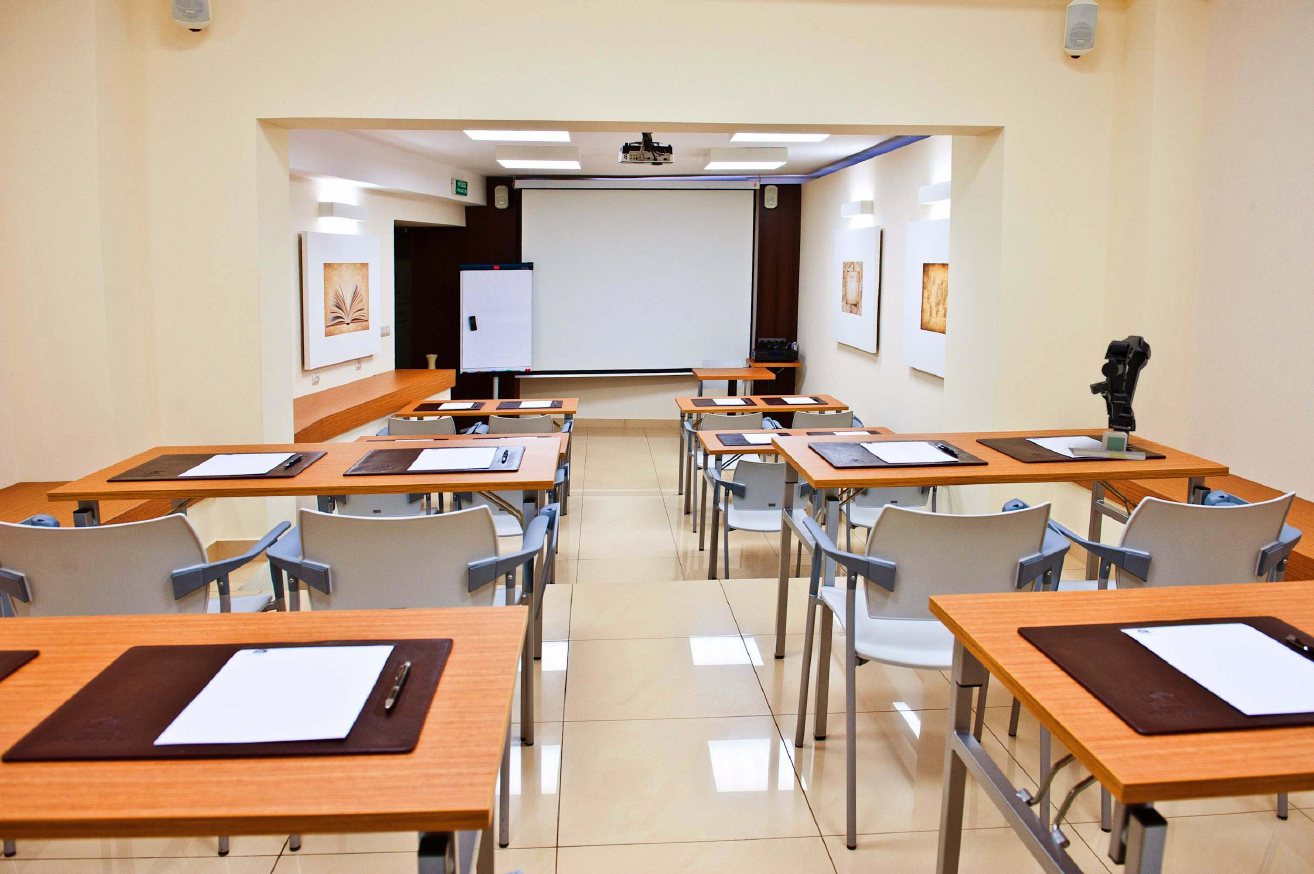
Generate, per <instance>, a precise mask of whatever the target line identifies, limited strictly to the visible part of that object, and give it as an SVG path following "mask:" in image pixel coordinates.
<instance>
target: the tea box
mask: <svg viewBox="0 0 1314 874" xmlns="http://www.w3.org/2000/svg"><path fill="white" fill-rule="evenodd" d="M1127 437H1128V435H1127V434H1126V433H1125V432H1117V431H1113V430H1103V432H1102V439H1101V440H1102V441H1101V446H1100V447H1101V448H1100V449H1102V450H1116V451H1127V445H1128V444H1127Z"/></svg>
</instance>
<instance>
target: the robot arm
mask: <svg viewBox="0 0 1314 874" xmlns="http://www.w3.org/2000/svg"><path fill="white" fill-rule="evenodd" d="M1151 356H1152V350H1151V345H1150V344H1149V343H1148V342H1146V341H1145V337H1144V336H1142V335H1132V334H1131V335H1128V336H1127V337H1126V338H1124V339H1122V340H1117V339H1116V340H1115V339H1114V340H1113V339H1112V340H1111V342H1110V343H1109V344H1108V346H1107V349H1106V352H1105V355H1104V360H1108V362H1105V363H1104V364H1103V365H1102V367H1101V371H1100V372H1101V374H1102V375H1103V377H1105V380H1104V381H1103V380H1102V381H1100V382H1099V381H1098V382H1095V383H1092V384H1089V388H1090V393H1091V394H1092V395H1098V394H1101V397H1102V398H1103V399H1104V401H1105V406H1106V407H1105V408H1106V414H1107V416H1108V420H1107V422H1108V423H1107V428H1108V429H1109V430H1112V431H1117V432H1125V433H1126V434H1127V435H1128V437H1127V444H1126V445H1129V439H1130V432H1131V433H1133V432H1136V429H1137V421H1136V417H1135V411H1134V410H1133V402H1134V398H1135V395H1136V394H1135V393H1136V390H1137V387H1138V382H1139V379H1140V374H1141V371H1142V370H1143V369H1144V368H1145V367H1146V366H1147V365H1148V362H1149V360H1151Z"/></svg>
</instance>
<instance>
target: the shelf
mask: <svg viewBox="0 0 1314 874" xmlns="http://www.w3.org/2000/svg"><path fill="white" fill-rule="evenodd" d="M1068 450H1069V451H1070V453H1071V454H1072V455H1074V456H1078V457H1080V456H1081V457H1094V458H1106V459H1108V458H1109V459H1119V460H1132V461H1133V460H1134V461H1145V460H1146V453H1145V452H1141V451H1127V450H1126V451H1116V450H1102V449H1101V448H1099V449H1098V448H1084V447H1068Z"/></svg>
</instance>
